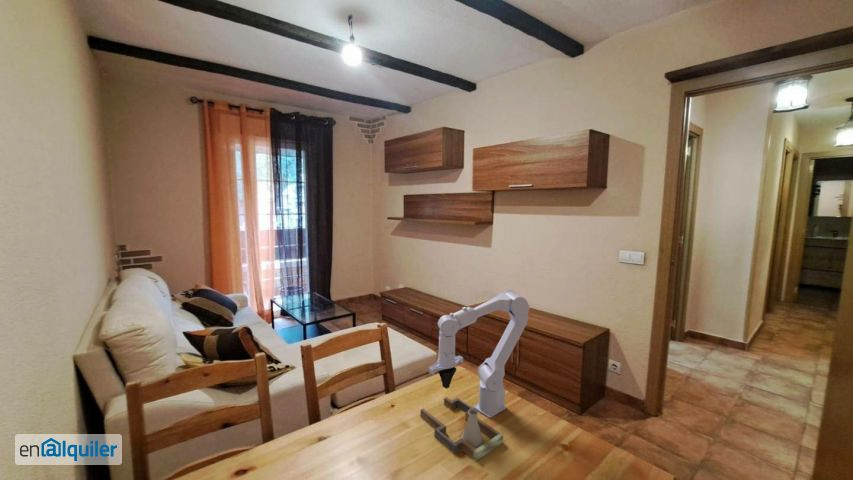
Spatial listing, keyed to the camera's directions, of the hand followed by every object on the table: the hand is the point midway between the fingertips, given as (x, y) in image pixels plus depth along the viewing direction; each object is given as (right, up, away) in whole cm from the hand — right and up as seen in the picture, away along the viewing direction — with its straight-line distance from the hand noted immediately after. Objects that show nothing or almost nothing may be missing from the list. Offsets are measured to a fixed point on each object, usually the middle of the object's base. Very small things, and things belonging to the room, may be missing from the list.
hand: (445, 386), depth 121 cm
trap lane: (+4, -11, -7) cm, 14 cm away
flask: (+8, -12, -12) cm, 19 cm away
